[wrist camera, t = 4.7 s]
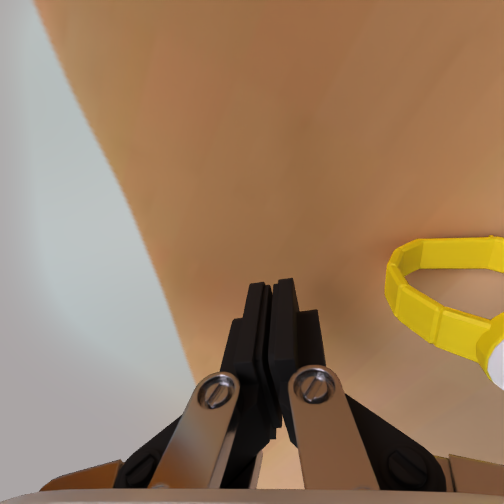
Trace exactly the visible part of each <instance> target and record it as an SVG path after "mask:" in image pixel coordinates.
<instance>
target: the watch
mask: <svg viewBox="0 0 504 504" xmlns="http://www.w3.org/2000/svg"><path fill="white" fill-rule="evenodd" d="M493 236H494V235H489V237H477V238H434V239H415V240H413V241H411V242H409V243H407V244H405V245H402V246H400V247H398V248H396V250H394V251H393V253H392V255H391V258H390V260H389V262H388V264H387V271H386V281H385V291H384V292H385V297H386V299H387V301H388V303H389V305H390V307H391V309H392V312H393V314H394V316H396V317H397V318H398V320H399V321H401V322H402V323H403V324H405V325H406V326H407V327H409V328H410V329H411V330H413V331H414V332H415V333H417V334H418V335H419V336H420V337H422V338H423V339H424V340H426V341H427V342H428V343H430V344H434V345H435V346H436V347H438V348H440V349H443V350H446V351H448V352H451V353H454V354H456V355H459V356H461V357H464V358H467V359H469V360H472V361H475V362H477V363H479V365H480V366H481V368H482V369H483V371H484V372H485V374H486V375H487V377H488V378H489V379H490V380H491V381H492V382H493V383H494V384H496V385H497V386H498V387H499V388H501V389H502V390H504V312H503V313H501V314H499V315H497V316H496V317H494V318H493V319H491V320H489V319H485V318H482V317H479V316H475V315H472V314H469V313H465V312H462V311H459V310H455V309H452V308H449V307H444V306H443V305H441V304H440V303H438V302H436V301H435V300H433V299H431V298H430V297H428V296H426V295H425V294H423V293H421V292H420V291H418V290H416V289H415V288H413V287H411V286H410V285H409V283H408V282H407V280H406V279H405V277H404V276H406V275H408V274H409V273H411V272H413V271H415V270H417V269H490V270H493V271H497V272H501V273H504V238H502V237H497V236H496V237H493Z"/></svg>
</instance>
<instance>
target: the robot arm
mask: <svg viewBox="0 0 504 504" xmlns="http://www.w3.org/2000/svg"><path fill="white" fill-rule="evenodd" d="M282 415H283V418H284V422H285V425H286V427H287V431H288V435H289V438H290V441H291V442H292V443H293V444H294V445H295V446H296V447H297V448H298V452H299V458H300V463H301V469H302V475H303V481H304V487H305V490H303V489H256V487H257V483H258V478H259V473H260V468H261V463H262V457H263V451H262V449H263V448H264V447H265V446H266V445H267V444H268V443H269V442H270V439H276V428H281V427H282ZM0 504H504V465H500V464H495V463H490V462H485V461H480V460H476V459H471V458H466V457H461V456H456V455H451V454H449V458H444V457H439V456H434V455H432V454H431V453H430V452H429V451H428V450H426V449H425V448H424V447H423V446H421V445H420V444H418V443H417V442H415V441H414V440H413V439H411V438H410V437H408V436H407V435H405V434H404V433H402V432H401V431H399V430H398V429H396V428H395V427H394V426H392V425H391V424H389V423H388V422H386V421H385V420H383V419H382V418H380V417H379V416H377V415H376V414H375V413H373V412H372V411H370V410H369V409H367V408H366V407H364V406H363V405H361V404H360V403H358V402H357V401H355V400H354V399H353V398H351V397H350V396H348V395H347V394H345V393H344V390H343V388H342V385H341V382H340V380H339V378H338V377H337V375H336V374H335V373H334V372H333V371H332V370H331V369H329V368H327V367H326V362H325V355H324V348H323V341H322V335H321V328H320V322H319V316H318V310H309V311H299V306H298V301H297V296H296V291H295V286H294V281H293V278H288V279H281V280H278V284H274V285H273V295H272V290H271V286H270V285H265V283H264V282H259V283H251V284H250V285H249V290H248V295H247V299H246V304H245V309H244V314H243V318H237V319H234V320H233V321H232V324H231V328H230V332H229V336H228V340H227V344H226V348H225V352H224V356H223V360H222V364H221V368H220V372H216V373H213V374H210V375H209V376H207V377H205V378H204V379H203V380H202V381H201V382H200V383H198V385H197V386H196V388H195V390H194V392H193V394H192V396H191V398H190V400H189V402H188V404H187V406H186V408H185V411H184V412H183V414H182V415H181V416H180V417H179V418H177V419H176V420H175V421H174V422H172V423H171V424H170V425H169V426H167V427H166V428H165V429H163V430H162V431H161V432H160V433H158V434H157V435H156V436H155V437H153V438H152V439H151V440H150V441H149V442H147V443H146V444H145V445H143V446H142V447H141V448H140V449H138V450H137V451H136V452H135V453H133V454H132V455H131V456H130V457H129V458H128V459H127V460H126V462H122V461H121V460H116V461H112V462H109V463H105V464H102V465H98V466H94V467H91V468H87V469H84V470H80V471H76V472H73V473H69V474H66V475H62V476H59V477H57V478H55V479H53V480H51V481H50V482H49V483H47V484H46V485H45V486H43V487H42V488H41V490H40V491H39V492H36V493H31V494H25V495H21V496H18V497H15V498H11V499H8V500H5V501H2V502H0Z"/></svg>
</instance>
